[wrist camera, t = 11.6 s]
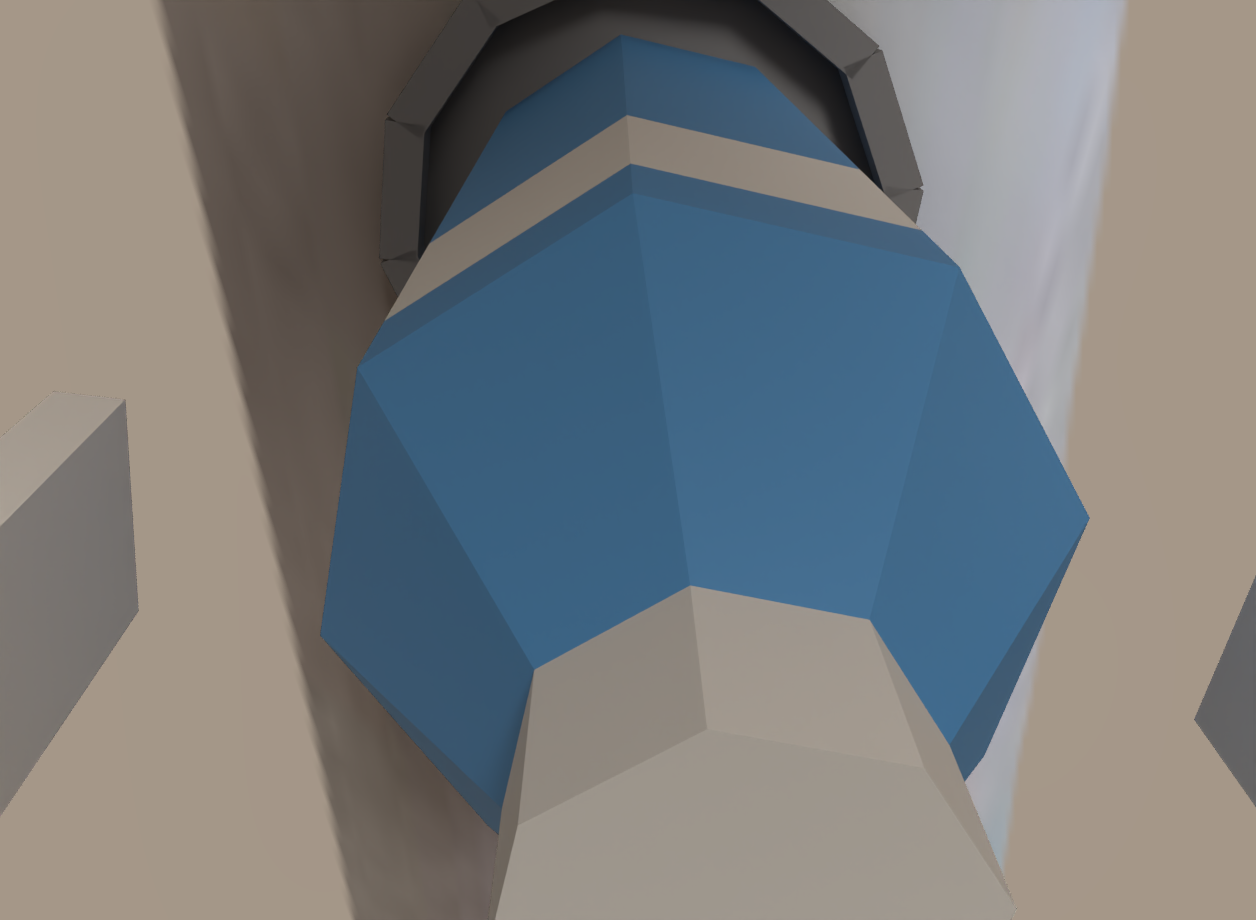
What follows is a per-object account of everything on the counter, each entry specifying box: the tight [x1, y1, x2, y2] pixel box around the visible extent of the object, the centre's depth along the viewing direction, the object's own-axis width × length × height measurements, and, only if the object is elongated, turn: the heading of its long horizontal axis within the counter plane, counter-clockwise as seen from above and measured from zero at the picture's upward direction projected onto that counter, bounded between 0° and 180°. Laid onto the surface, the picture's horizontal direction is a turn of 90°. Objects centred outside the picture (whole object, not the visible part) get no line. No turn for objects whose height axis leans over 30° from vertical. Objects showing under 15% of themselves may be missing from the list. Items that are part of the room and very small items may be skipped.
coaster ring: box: [379, 0, 923, 297], centre depth 31 cm, size 14×14×2 cm
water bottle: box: [320, 35, 1089, 920], centre depth 20 cm, size 9×9×25 cm
